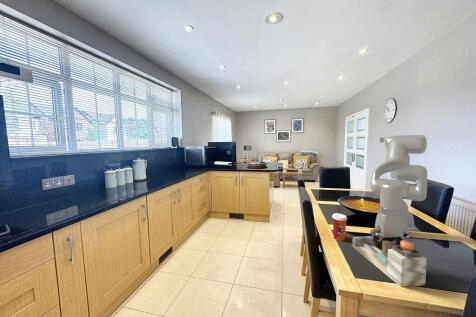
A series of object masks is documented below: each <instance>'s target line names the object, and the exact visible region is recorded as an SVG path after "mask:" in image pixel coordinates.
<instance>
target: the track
mask: <svg viewBox="0 0 476 317" xmlns="http://www.w3.org/2000/svg"><path fill="white" fill-rule="evenodd" d="M351 245H352V246H351V247H352V248H353V249H354V250H356V251H357V252H358V253H359V254H360V255H362V256H363V257H364V258H365V259H367V260H368V261H369V262H370V263H371V264H372V265H374V266H375V267H376V268H378V270H380V271H381V272H383V274H384V275H385V276H387V277H388V278H389V279H391V280H392V281H393V282H394V283H395V284H397V285H398V286H399V287H400V288H403V287H417V286H425V285H426V277H427V259H428V257H427V256H426V255H423V253H422V252H420V251H418V250H417V249H415V248H414V251H412V252H410V251H406V250H403V249H401V248H400V245H396V244H395V246H393V249H388V259H387V266H385V265H384V264H383V263H382V262H380V261H379V260H378V257H377V256H376V255H377V253H382V250H379V249H378V248H376V247H375V244H374V237H373V236H372V235H368V236H367V235H364V236H352V244H351Z"/></svg>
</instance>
